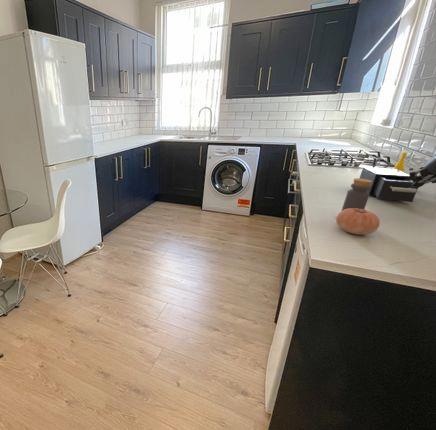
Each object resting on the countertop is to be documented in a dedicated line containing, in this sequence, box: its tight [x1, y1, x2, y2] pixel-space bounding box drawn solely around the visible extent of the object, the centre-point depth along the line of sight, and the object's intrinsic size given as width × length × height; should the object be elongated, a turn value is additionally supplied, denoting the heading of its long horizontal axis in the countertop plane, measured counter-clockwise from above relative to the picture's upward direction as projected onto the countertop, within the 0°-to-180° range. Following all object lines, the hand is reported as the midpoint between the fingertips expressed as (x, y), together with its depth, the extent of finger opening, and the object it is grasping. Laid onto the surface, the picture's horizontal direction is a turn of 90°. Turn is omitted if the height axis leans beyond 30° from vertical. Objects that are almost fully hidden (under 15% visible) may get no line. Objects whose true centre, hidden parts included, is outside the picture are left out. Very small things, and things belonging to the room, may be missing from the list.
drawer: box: [372, 176, 419, 203], centre depth 120 cm, size 18×11×8 cm, turn 158°
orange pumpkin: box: [335, 208, 381, 236], centre depth 90 cm, size 11×11×8 cm
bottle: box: [341, 177, 372, 211], centre depth 97 cm, size 6×6×15 cm
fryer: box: [359, 166, 412, 197], centre depth 128 cm, size 15×13×10 cm
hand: (414, 185), depth 106 cm, fingers closed
